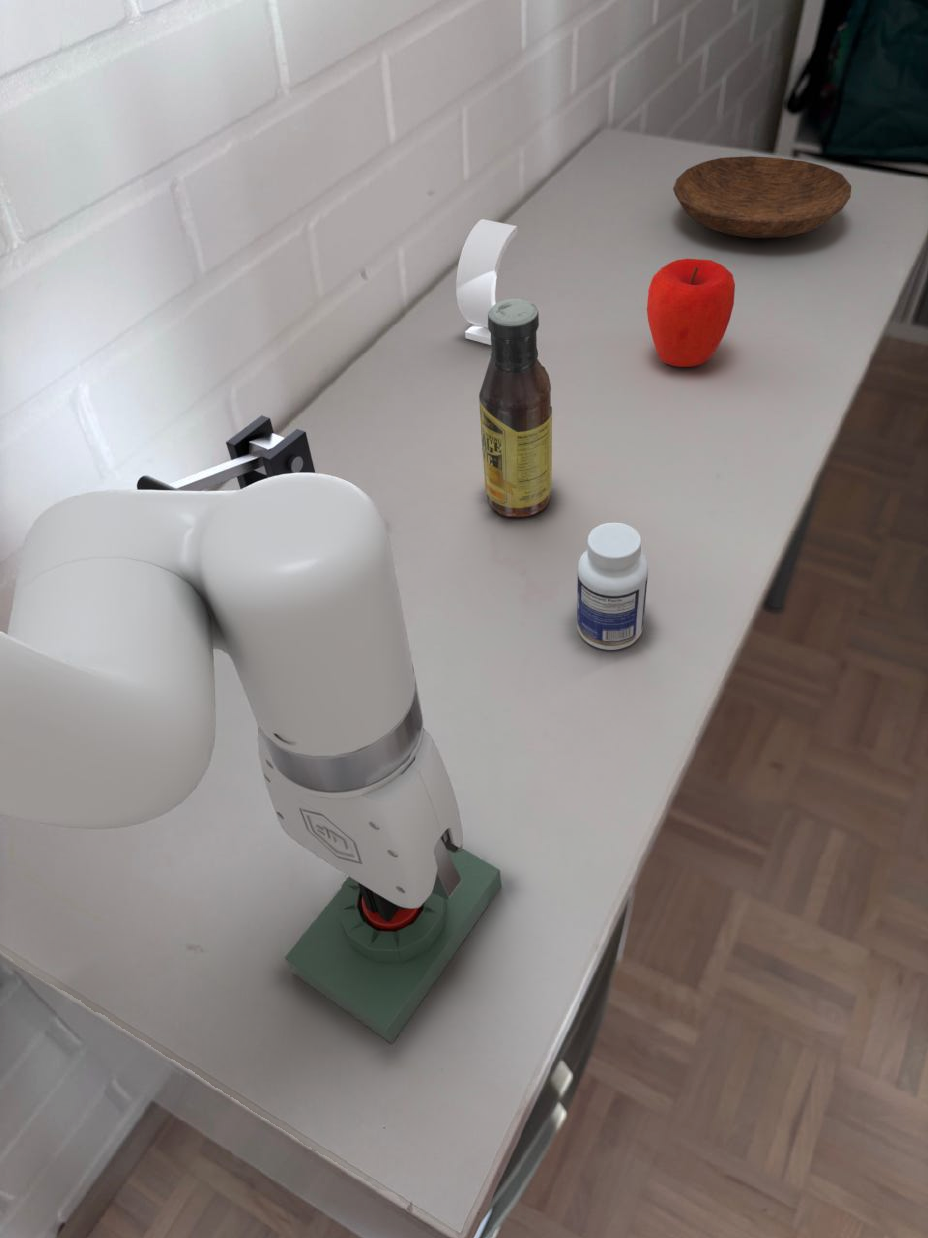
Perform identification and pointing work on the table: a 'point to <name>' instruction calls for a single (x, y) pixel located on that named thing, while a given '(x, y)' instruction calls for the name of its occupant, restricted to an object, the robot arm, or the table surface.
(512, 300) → the sauce bottle
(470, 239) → the headphone stand
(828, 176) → the bowl
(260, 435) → the bracket
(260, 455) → the lever
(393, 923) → the button
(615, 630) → the pill bottle
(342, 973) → the button box
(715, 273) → the apple
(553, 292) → the table surface
